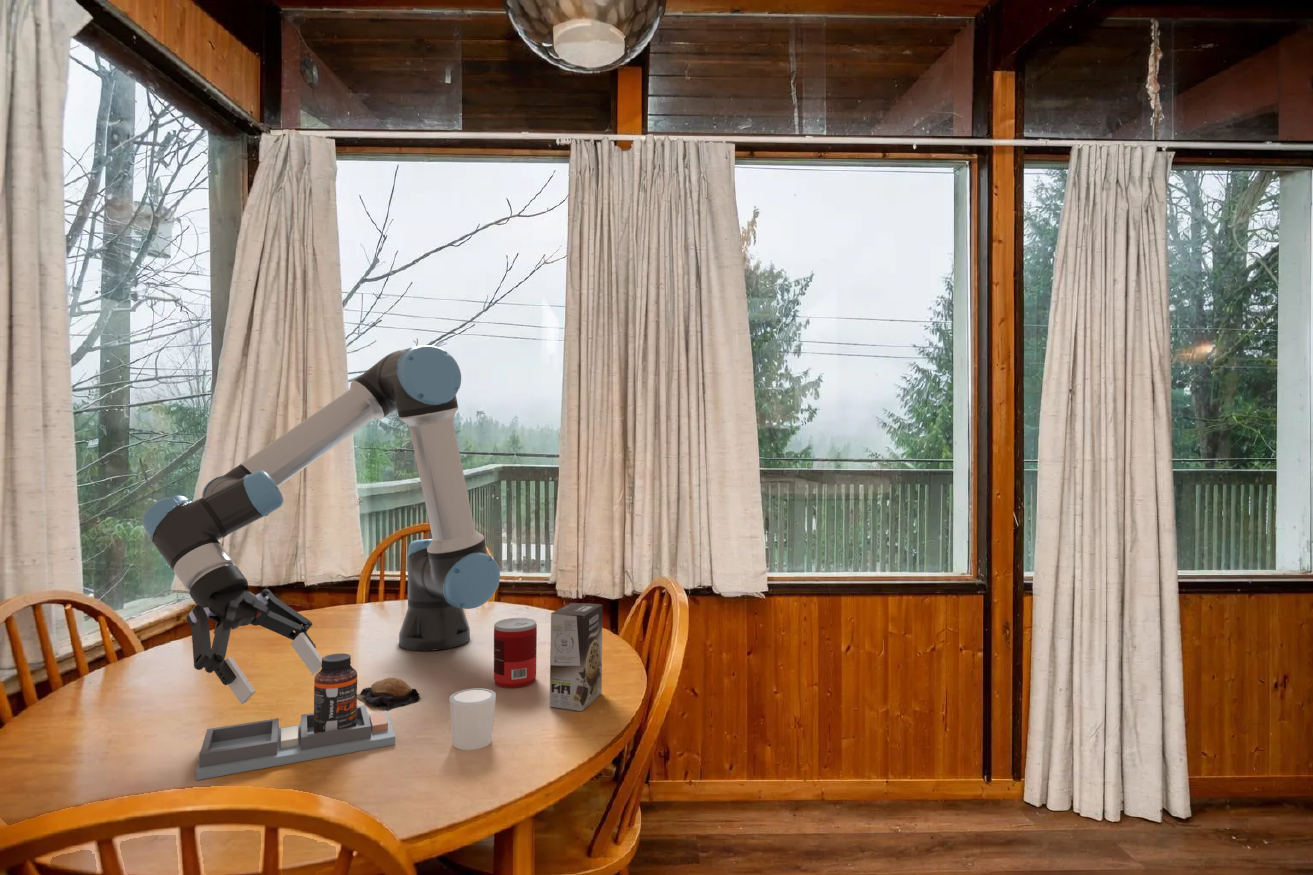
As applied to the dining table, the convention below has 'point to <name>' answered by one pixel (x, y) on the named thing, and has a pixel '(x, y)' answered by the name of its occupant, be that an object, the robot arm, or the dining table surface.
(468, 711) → the white short cylinder
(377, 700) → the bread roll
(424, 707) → the dining table surface
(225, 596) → the robot arm
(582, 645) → the grey food box
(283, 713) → the dining table surface
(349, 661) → the supplement bottle
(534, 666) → the canned food
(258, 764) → the compartment tray
